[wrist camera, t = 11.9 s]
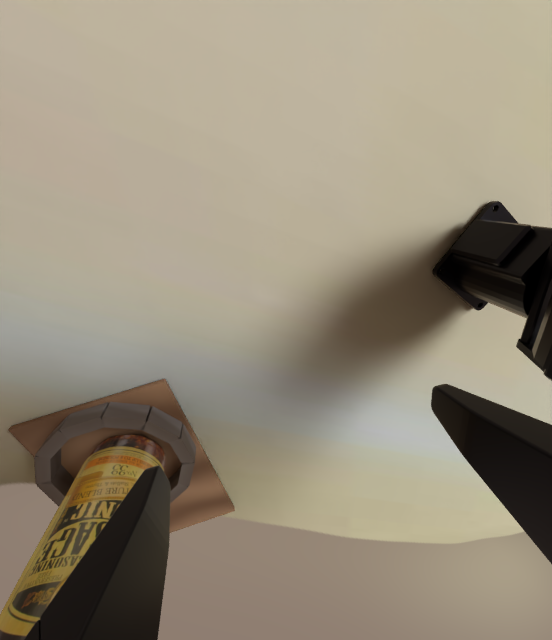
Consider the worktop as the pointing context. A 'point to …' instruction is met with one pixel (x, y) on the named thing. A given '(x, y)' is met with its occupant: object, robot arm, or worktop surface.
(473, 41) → the worktop surface
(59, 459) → the cup bracket
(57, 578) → the sauce bottle
